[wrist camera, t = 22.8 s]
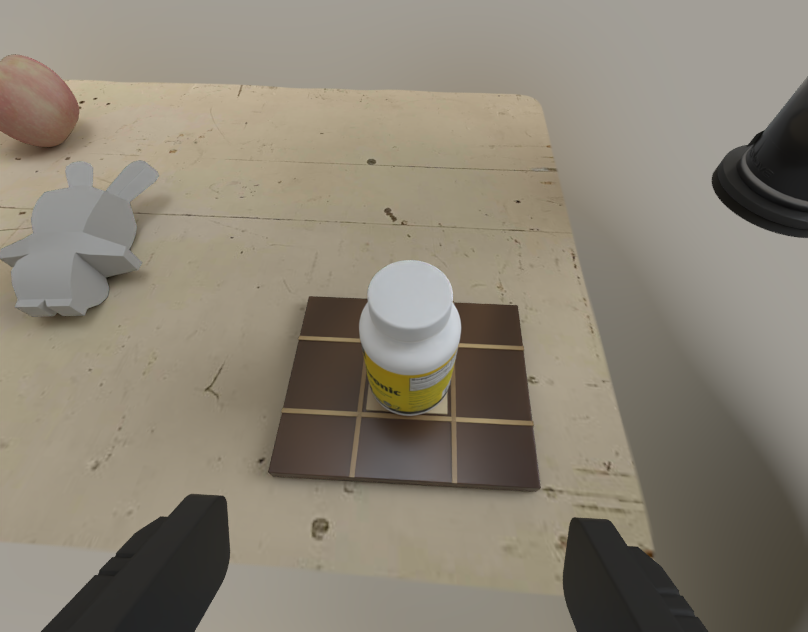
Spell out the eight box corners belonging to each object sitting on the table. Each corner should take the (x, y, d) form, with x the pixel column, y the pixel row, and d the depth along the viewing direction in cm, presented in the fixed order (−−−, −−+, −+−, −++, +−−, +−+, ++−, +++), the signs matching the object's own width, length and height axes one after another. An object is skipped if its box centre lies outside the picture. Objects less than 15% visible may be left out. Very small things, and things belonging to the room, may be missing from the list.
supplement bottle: (355, 363, 27) (334, 270, 19) (425, 332, 29) (434, 233, 20) (389, 433, 24) (382, 360, 16) (465, 396, 26) (493, 311, 18)
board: (514, 312, 31) (518, 303, 30) (536, 491, 24) (542, 488, 23) (311, 303, 31) (308, 294, 30) (272, 476, 24) (266, 471, 23)
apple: (74, 112, 47) (19, 35, 40) (111, 134, 44) (59, 55, 38) (4, 145, 43) (-69, 66, 37) (40, 170, 41) (-31, 91, 34)
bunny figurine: (-49, 296, 27) (38, 142, 34) (17, 328, 31) (82, 187, 38) (92, 293, 27) (151, 141, 34) (137, 326, 32) (181, 185, 38)
